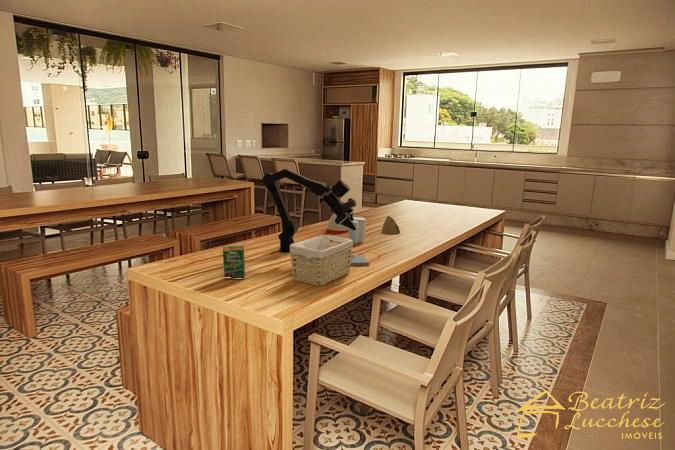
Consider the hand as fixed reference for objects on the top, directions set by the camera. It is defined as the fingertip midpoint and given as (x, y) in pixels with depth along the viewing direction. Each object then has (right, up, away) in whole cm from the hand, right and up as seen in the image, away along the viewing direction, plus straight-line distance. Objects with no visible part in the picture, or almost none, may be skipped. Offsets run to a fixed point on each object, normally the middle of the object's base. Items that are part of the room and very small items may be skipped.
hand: (356, 228), depth 206 cm
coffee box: (-50, -20, -34) cm, 63 cm away
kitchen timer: (-8, -2, +58) cm, 58 cm away
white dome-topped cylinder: (-2, -6, +2) cm, 7 cm away
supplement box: (+2, -7, +34) cm, 35 cm away
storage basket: (-15, -20, -28) cm, 38 cm away
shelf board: (-3, -15, -7) cm, 17 cm away
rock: (+23, -3, +56) cm, 61 cm away
